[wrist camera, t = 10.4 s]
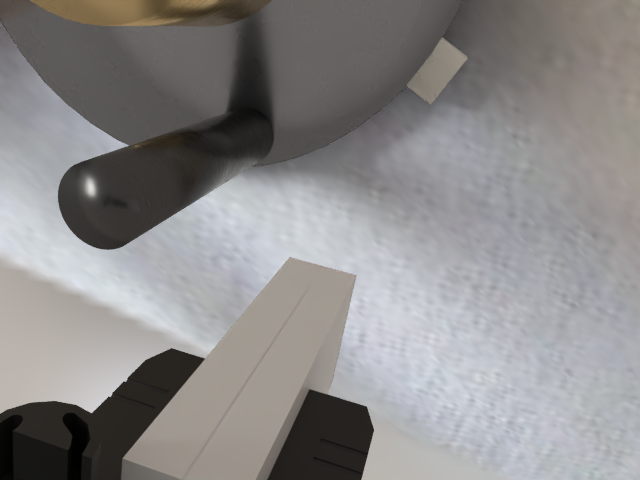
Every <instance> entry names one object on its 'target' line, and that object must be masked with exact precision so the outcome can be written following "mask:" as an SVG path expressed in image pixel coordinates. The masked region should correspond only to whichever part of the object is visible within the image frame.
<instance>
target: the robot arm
mask: <svg viewBox="0 0 640 480" xmlns="http://www.w3.org/2000/svg"><path fill="white" fill-rule="evenodd" d="M355 279H356V275H353V274H349V273H346V272H342V271H338V270H335V269H331V268H327V267H324V266H320V265H316V264H313V263H309V262H305V261H302V260H298V259H294V258H291V257H290V258H289V259H288V260H287V261H286V262H285V264H284V265H283V266H282V267H281V268H280V270H279V271H278V272H277V273H276V274H275V276H274V277H273V278H272V279H271V280H270V282H269V283H268V284H267V285H266V286H265V288H264V289H263V290H262V291H261V292H260V294H259V295H258V296H257V297H256V298H255V300H254V301H253V302H252V303H251V304H250V306H249V307H248V308H247V309H246V311H245V312H244V313H243V314H242V315H241V317H240V318H239V319H238V320H237V321H236V323H235V324H234V325H233V326H232V327H231V329H230V330H229V331H228V332H227V333H226V335H225V336H224V337H223V338H222V339H221V341H220V342H219V343H218V344H217V345H216V347H215V348H214V349H213V350H212V351H211V353H210V354H209V355H208V356H207V357H206V359H204V358H201V357H198V356H195V355H191V354H188V353H185V352H182V351H178V350H175V349H172V348H171V349H169V350H167V351H165V352H163V353H160V354H158V355H156V356H154V357H151V358H150V359H147V360H145V362H143V363H142V364H141V365H140V366H139V367H138V368H137V369H136V370H135V372H133V373H132V374H131V375H130V376H129V377H128V380H127V381H126V382H123V383H122V384H121V385H120V386H119V387H118V388H117V389H116V390H115V391H114V392H113V394H112V396H111V397H108V398H107V399H106V400H105V401H104V402H103V403H102V404H101V405H100V406H99V407H98V408H97V409H96V410H95V411H94V412H93V413H90V412H88V411H86V410H84V409H82V408H81V407H79V406H77V405H73V404H68V403H62V402H57V401H51V402H35V403H28V404H25V405H22V406H18V407H15V408H12V409H8V410H6V411H4V412H3V413H1V414H0V480H361V478H362V475H363V471H364V466H365V463H366V459H367V455H368V451H369V448H370V443H371V439H372V436H373V432H374V429H373V425H372V422H371V419H370V416H369V412H368V409H367V407H366V406H363V405H359V404H356V403H353V402H350V401H346V400H343V399H340V398H337V397H334V396H330V395H327V393H328V391H329V388H330V386H331V383H332V381H333V377H334V372H335V368H336V363H337V359H338V354H339V350H340V346H341V341H342V337H343V332H344V328H345V323H346V319H347V315H348V310H349V306H350V301H351V297H352V292H353V288H354V284H355Z"/></svg>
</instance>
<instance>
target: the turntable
mask: <svg viewBox="0 0 640 480" xmlns="http://www.w3.org/2000/svg"><path fill="white" fill-rule="evenodd" d="M461 2H462V0H272V1H271V2H270V3H269V4H267V5H266V6H265V7H263V8H262V9H261V10H259V11H258V12H256V13H254V14H253V15H251V16H249V17H247V18H245V19H243V20H240V21H237V22H234V23H231V24H226V25H221V26H209V27H186V26H100V25H91V24H83V23H79V22H76V21H72V20H68V19H65V18H63V17H60V16H58V15H55V14H53V13H51V12H48V11H47V10H45V9H43V8H42V7H40V6H38V5H37V4H35V3H33V2H32V1H30V0H0V19H1V21H2V23H3V25H4V27H5V28H6V30H7V31H8V33H9V34H10V36H11V38H12V39H13V41H14V42H15V44H16V45H17V47H18V48H19V50H20V51H21V53H22V54H23V56H24V57H25V58H26V59H27V61H28V62H29V63H30V64H31V66H32V67H33V68H34V69H35V71H36V72H37V73H38V74H39V76H40V77H41V78H42V79H43V81H44V82H45V83H46V84H47V85H48V86H49V87H50V88H51V89H52V90H53V91H54V92H55V93H56V94H57V95H58V96H59V97H60V98H61V99H62V100H63V101H64V102H65V103H66V104H68V105H69V106H70V107H71V108H73V109H74V110H75V111H76V112H78V113H79V114H80V115H81V116H83V117H84V118H85V119H86V120H88V121H89V122H90V123H91V124H93V125H95V126H96V127H98V128H99V129H101V130H103V131H104V132H106V133H107V134H109V135H111V136H112V137H114V138H115V139H117V140H119V141H121V142H123V143H125V144H127V145H130V146H127V147H124V148H121V149H119V150H116V151H113V152H110V153H107V154H104V155H101V156H98V157H95V158H92V159H89V160H86V161H83V162H80V163H78V164H76V165H74V166H72V167H71V168H70V169H69V170H68V171H67V172H66V173H65V174H64V176H63V178H62V179H61V182H60V185H59V190H58V202H59V207H60V211H61V214H62V216H63V218H64V220H65V222H66V224H67V225H68V227H69V228H70V230H71V231H72V232H73V233H74V234H75V235H76V236H77V237H78V238H79V239H81V240H82V241H83V242H85V243H87V244H89V245H91V246H93V247H96V248H99V249H107V250H109V249H116V248H120V247H122V246H124V245H126V244H127V243H129V242H131V241H132V240H134V239H135V238H137V237H139V236H140V235H142V234H144V233H145V232H147V231H148V230H150V229H152V228H153V227H155V226H156V225H158V224H160V223H161V222H163V221H164V220H166V219H168V218H169V217H171V216H172V215H174V214H176V213H177V212H179V211H180V210H182V209H184V208H185V207H187V206H189V205H190V204H192V203H193V202H195V201H197V200H198V199H200V198H201V197H203V196H205V195H206V194H208V193H209V192H211V191H213V190H214V189H216V188H217V187H219V186H221V185H222V184H224V183H225V182H227V181H229V180H230V179H232V178H234V177H235V176H237V175H238V174H240V173H242V172H243V171H245V170H246V169H248V168H250V167H255V166H264V165H268V164H273V163H277V162H281V161H285V160H289V159H294V158H296V157H299V156H301V155H304V154H307V153H309V152H312V151H314V150H317V149H319V148H322V147H324V146H326V145H328V144H330V143H332V142H333V141H335V140H337V139H339V138H340V137H342V136H344V135H346V134H348V133H349V132H351V131H353V130H354V129H356V128H357V127H358V126H360V125H361V124H362V123H364V122H365V121H366V120H368V119H369V118H370V117H372V116H373V115H374V114H376V113H377V112H378V111H380V110H381V109H382V108H383V107H385V106H386V105H387V104H388V103H389V102H390V101H391V100H392V99H393V98H394V97H395V96H396V95H397V94H398V93H399V92H400V91H401V90H402V89H403V88H404V87H405V86H407V87H408V88H410V89H411V90H412V91H413V92H415V93H416V94H417V95H418V96H420V97H421V98H422V99H424V100H425V101H426V102H427V103H429V104H430V105H431V104H432V103H433V102H434V100H435V99H436V98H437V97H438V95H439V94H440V93H441V92H442V90H443V89H444V88H445V87H446V85H447V84H448V83H449V81H450V80H451V79H452V78H453V76H454V75H455V74H456V73H457V71H458V70H459V69H460V68H461V66H462V65H463V64H464V63H465V61H466V60H467V59H468V57H467V56H466V55H465V54H463V53H462V52H461V51H460V50H458V49H457V48H456V47H455V46H453V45H452V44H451V43H449V42H448V41H447V40H446V39H444V38H443V36H444V34H445V32H446V31H447V29H448V27H449V26H450V24H451V23H452V21H453V19H454V18H455V15H456V13H457V11H458V9H459V7H460V4H461Z"/></svg>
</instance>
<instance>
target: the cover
mask: <svg viewBox="0 0 640 480" xmlns="http://www.w3.org/2000/svg"><path fill="white" fill-rule="evenodd" d="M30 1H32V2H33V3H35V4H37V5H38V6H40V7H42V8H43V9H45V10H47V11H48V12H51V13H53V14H55V15H58V16H60V17H63V18H65V19H68V20H72V21H76V22H79V23H83V24H91V25H100V26H186V27H209V26H221V25H226V24H231V23H234V22H237V21H240V20H243V19H245V18H247V17H249V16H251V15H253V14H254V13H256V12H258V11H259V10H261V9H262V8H263V7H265V6H266V5H267V4H269V3H270V2H271V1H272V0H30Z"/></svg>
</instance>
